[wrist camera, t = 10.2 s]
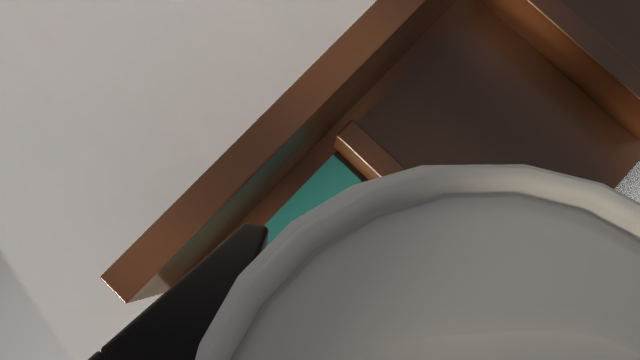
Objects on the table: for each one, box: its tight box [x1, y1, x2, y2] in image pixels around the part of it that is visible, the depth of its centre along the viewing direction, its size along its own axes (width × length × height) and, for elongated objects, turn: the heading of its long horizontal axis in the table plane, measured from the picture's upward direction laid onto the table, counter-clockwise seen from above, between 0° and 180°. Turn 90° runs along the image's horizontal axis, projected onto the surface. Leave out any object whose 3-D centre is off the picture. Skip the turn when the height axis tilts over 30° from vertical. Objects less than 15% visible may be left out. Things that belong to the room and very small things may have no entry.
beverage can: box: [195, 164, 640, 360], centre depth 10 cm, size 5×5×12 cm
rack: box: [100, 0, 640, 303], centre depth 19 cm, size 24×10×8 cm, turn 136°
